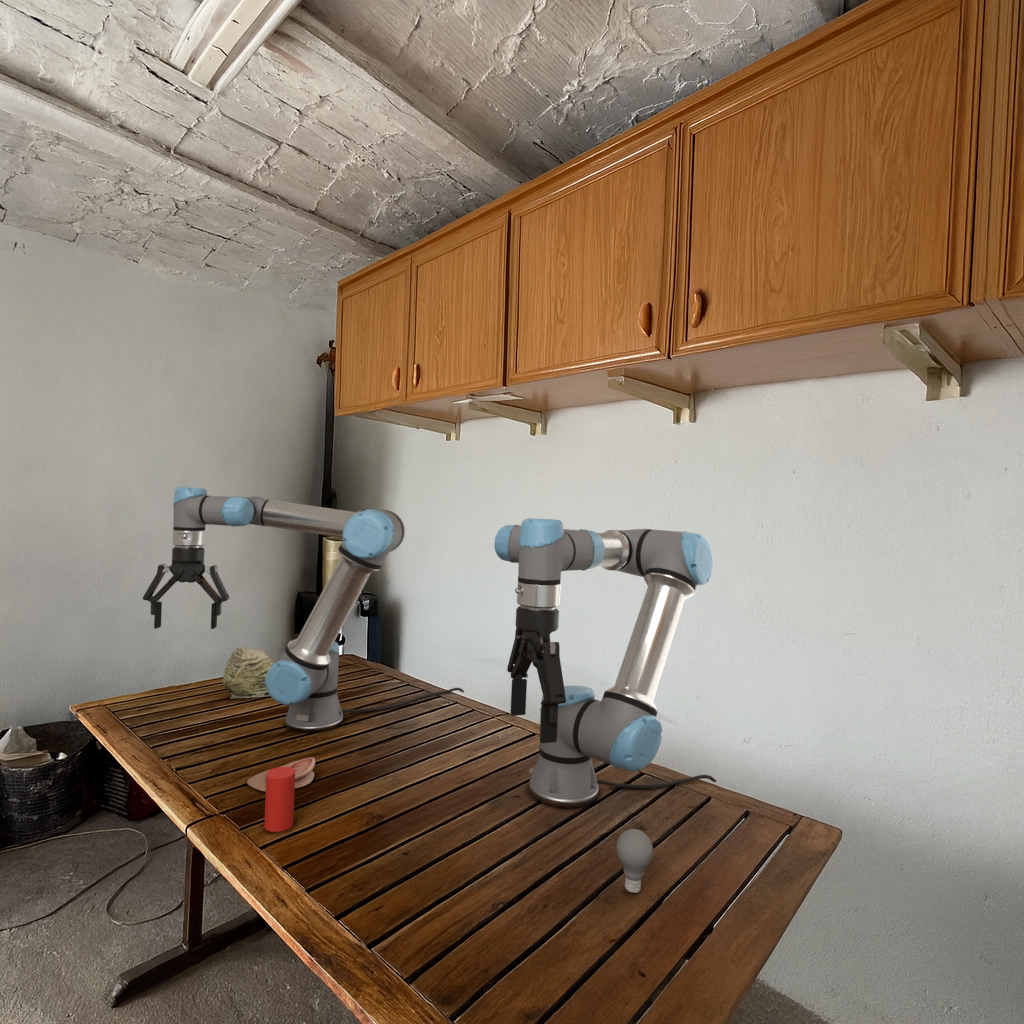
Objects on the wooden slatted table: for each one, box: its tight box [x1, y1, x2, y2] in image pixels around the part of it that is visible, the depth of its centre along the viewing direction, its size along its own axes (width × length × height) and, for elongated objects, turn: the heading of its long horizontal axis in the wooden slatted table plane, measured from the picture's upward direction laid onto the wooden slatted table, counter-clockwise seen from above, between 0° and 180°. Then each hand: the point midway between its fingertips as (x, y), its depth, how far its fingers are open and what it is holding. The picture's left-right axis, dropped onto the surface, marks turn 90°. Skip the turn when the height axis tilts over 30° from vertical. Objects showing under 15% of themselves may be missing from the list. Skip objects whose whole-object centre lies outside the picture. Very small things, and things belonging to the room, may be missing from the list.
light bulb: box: [615, 828, 654, 894], centre depth 106 cm, size 6×6×10 cm
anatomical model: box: [246, 757, 316, 792], centre depth 140 cm, size 13×4×12 cm
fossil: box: [222, 646, 275, 699], centre depth 198 cm, size 9×18×15 cm, turn 132°
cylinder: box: [263, 766, 296, 833], centre depth 122 cm, size 5×5×10 cm
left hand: (185, 627), depth 165 cm, fingers open, 13 cm apart
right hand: (532, 727), depth 111 cm, fingers open, 13 cm apart
